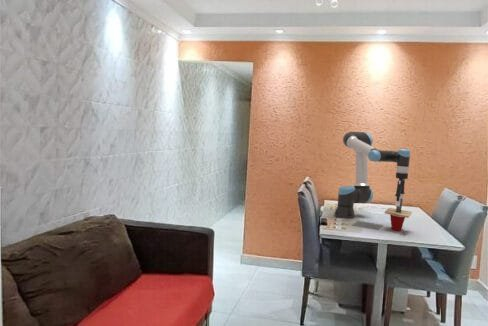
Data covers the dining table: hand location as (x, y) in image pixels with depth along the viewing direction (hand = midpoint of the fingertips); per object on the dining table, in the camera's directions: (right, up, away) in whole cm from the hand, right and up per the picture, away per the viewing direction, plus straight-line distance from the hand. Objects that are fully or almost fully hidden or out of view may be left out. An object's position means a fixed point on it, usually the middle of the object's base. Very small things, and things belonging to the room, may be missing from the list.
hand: (399, 204), depth 281 cm
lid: (0, -6, +1) cm, 6 cm away
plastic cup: (-1, -18, +2) cm, 18 cm away
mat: (-18, -16, +11) cm, 26 cm away
